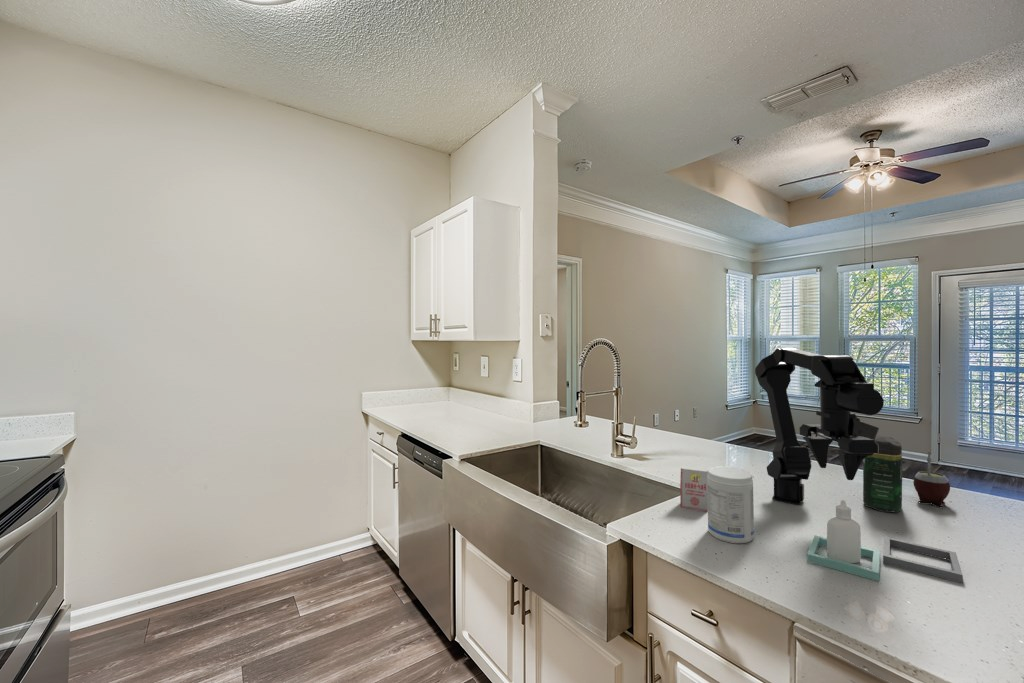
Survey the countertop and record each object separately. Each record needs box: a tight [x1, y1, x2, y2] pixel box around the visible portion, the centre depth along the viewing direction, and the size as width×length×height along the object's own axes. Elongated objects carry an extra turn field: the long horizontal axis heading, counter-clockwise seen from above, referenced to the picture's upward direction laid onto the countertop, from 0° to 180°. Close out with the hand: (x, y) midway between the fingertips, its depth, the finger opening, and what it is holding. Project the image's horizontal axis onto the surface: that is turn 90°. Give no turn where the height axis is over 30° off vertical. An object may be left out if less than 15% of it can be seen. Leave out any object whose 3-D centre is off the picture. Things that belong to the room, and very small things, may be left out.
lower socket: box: [806, 534, 881, 582], centre depth 87 cm, size 11×11×2 cm
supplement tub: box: [707, 465, 755, 544], centre depth 98 cm, size 10×10×15 cm
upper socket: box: [882, 535, 964, 584], centre depth 86 cm, size 11×11×2 cm
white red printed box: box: [679, 468, 708, 512], centre depth 115 cm, size 4×7×10 cm, turn 63°
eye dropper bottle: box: [826, 499, 862, 564], centre depth 87 cm, size 4×6×12 cm
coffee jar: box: [862, 435, 903, 513], centre depth 114 cm, size 10×8×19 cm
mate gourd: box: [913, 451, 951, 509], centre depth 115 cm, size 8×8×15 cm
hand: (836, 473), depth 101 cm, fingers open, 9 cm apart
